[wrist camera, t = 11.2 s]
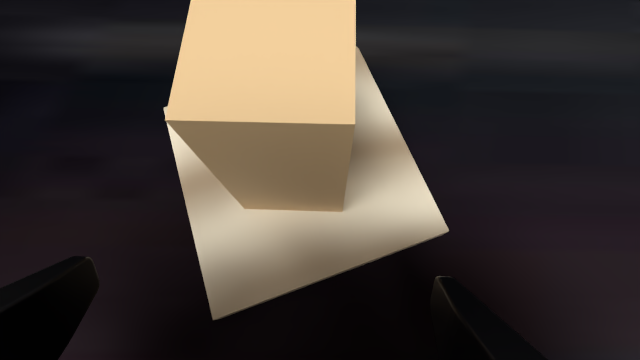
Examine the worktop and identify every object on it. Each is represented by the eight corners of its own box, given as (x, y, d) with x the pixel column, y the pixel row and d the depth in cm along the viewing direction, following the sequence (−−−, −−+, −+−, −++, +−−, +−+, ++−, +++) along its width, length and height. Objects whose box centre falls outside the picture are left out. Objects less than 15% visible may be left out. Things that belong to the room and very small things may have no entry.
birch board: (442, 234, 18) (449, 230, 17) (219, 319, 17) (212, 320, 16) (356, 58, 22) (357, 47, 21) (170, 116, 21) (163, 107, 20)
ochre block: (342, 212, 17) (354, 124, 9) (244, 208, 17) (164, 120, 9) (343, 124, 19) (355, -20, 11) (254, 122, 19) (195, -21, 11)
